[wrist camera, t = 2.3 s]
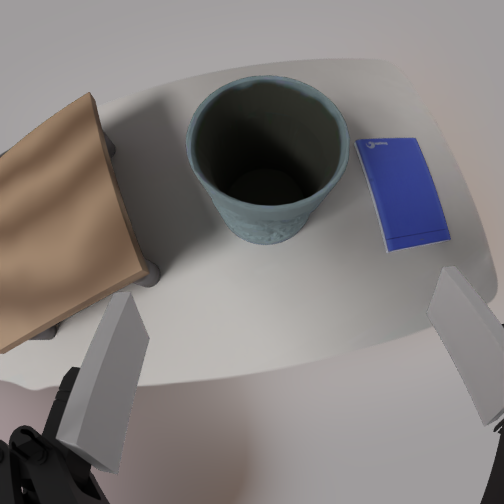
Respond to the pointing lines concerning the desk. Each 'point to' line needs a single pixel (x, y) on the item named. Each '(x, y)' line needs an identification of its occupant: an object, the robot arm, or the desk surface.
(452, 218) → the desk surface
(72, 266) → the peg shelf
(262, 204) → the teal plant pot
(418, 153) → the hard drive
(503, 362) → the robot arm
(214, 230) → the desk surface
